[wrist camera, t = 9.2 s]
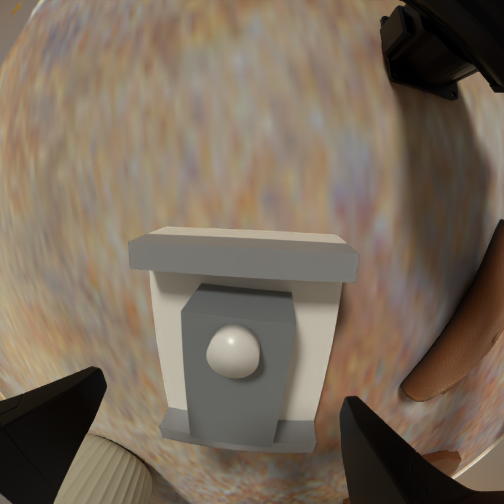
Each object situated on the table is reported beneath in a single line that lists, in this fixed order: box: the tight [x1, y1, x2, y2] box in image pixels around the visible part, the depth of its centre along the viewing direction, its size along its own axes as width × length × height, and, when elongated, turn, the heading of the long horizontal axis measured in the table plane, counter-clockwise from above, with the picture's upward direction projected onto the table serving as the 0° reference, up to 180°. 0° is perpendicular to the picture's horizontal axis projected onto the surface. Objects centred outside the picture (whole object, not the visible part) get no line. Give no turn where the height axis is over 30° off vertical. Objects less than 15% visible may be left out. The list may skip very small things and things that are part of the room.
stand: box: [128, 227, 360, 453], centre depth 18 cm, size 12×16×6 cm
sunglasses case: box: [401, 219, 504, 402], centre depth 18 cm, size 18×7×7 cm, turn 153°
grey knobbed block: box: [181, 283, 296, 448], centre depth 15 cm, size 10×6×5 cm, turn 175°
